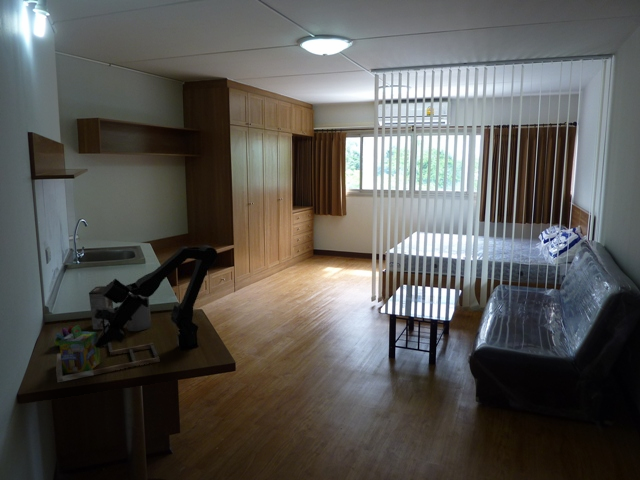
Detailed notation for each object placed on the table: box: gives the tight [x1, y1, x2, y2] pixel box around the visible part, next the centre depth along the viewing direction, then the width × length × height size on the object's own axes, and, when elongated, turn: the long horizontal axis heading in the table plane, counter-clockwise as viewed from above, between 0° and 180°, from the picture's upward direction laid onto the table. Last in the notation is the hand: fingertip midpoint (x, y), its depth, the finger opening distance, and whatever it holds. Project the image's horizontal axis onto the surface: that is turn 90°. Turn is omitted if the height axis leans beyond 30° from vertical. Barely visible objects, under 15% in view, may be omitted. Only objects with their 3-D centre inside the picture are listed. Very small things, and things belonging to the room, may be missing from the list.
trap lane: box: [55, 341, 161, 383], centre depth 170 cm, size 32×25×4 cm
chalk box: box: [59, 324, 102, 374], centre depth 161 cm, size 9×9×15 cm
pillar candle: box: [126, 293, 152, 332], centre depth 199 cm, size 10×10×15 cm
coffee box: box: [88, 285, 114, 330], centre depth 201 cm, size 9×6×16 cm
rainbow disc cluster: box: [53, 326, 79, 347], centre depth 182 cm, size 8×10×7 cm
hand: (96, 346), depth 163 cm, fingers closed
